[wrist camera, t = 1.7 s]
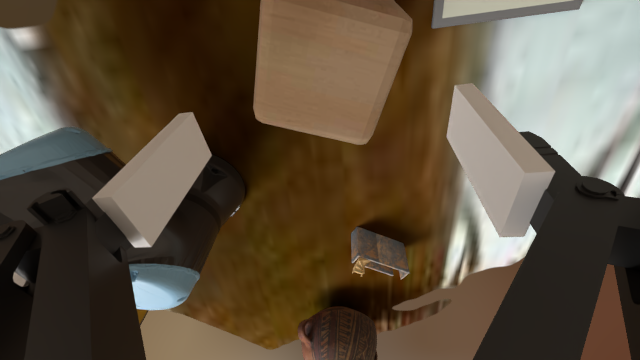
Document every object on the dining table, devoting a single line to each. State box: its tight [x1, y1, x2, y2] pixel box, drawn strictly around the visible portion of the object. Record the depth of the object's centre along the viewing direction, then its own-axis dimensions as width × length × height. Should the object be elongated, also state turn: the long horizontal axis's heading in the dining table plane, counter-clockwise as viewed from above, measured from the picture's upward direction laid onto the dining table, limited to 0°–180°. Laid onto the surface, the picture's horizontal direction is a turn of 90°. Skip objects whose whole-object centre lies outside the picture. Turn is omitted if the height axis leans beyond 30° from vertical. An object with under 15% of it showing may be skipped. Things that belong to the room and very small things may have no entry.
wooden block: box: [253, 0, 412, 145], centre depth 28 cm, size 10×10×20 cm
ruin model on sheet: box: [351, 227, 409, 279], centre depth 57 cm, size 11×3×10 cm, turn 66°
